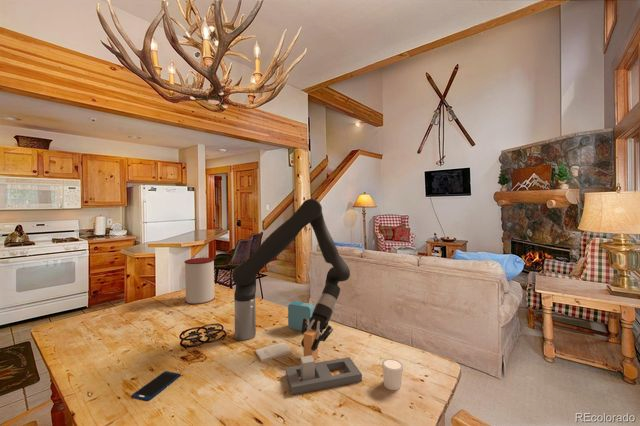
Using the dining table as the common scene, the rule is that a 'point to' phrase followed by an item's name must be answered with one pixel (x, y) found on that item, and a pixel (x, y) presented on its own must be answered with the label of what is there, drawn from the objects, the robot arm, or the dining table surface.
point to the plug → (310, 343)
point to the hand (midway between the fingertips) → (307, 348)
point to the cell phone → (155, 386)
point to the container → (199, 280)
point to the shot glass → (392, 373)
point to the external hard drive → (272, 351)
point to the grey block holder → (321, 374)
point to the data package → (299, 314)
